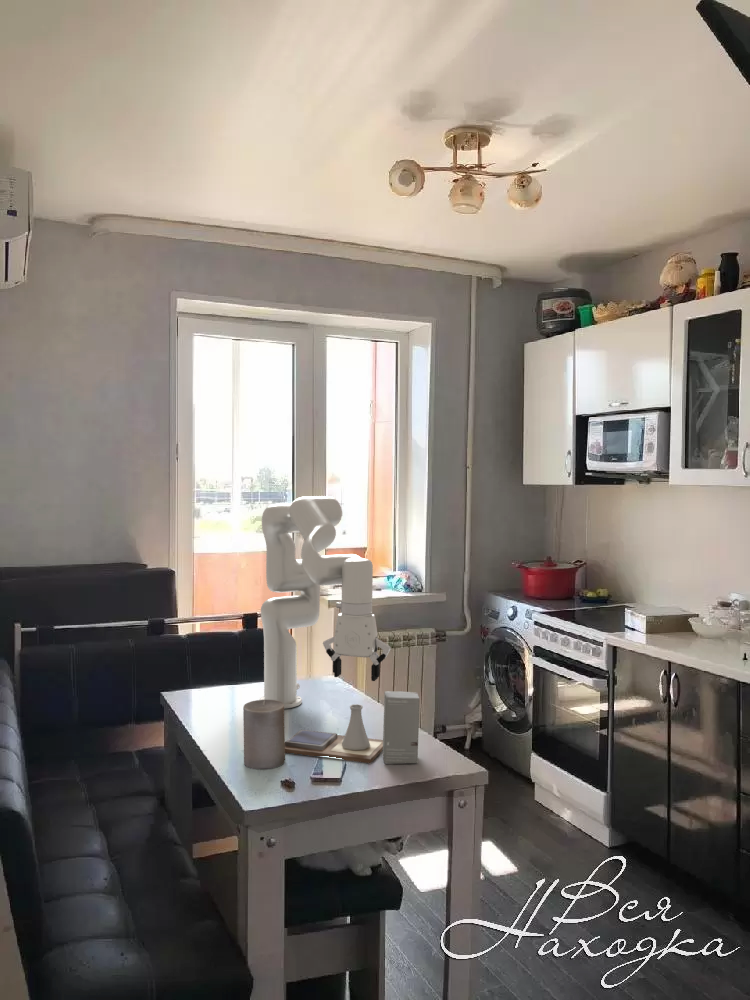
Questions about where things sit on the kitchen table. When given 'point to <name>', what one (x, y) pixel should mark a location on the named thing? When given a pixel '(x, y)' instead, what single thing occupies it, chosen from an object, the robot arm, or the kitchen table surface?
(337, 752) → the board
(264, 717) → the pillar candle
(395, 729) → the skincare box
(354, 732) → the flask
